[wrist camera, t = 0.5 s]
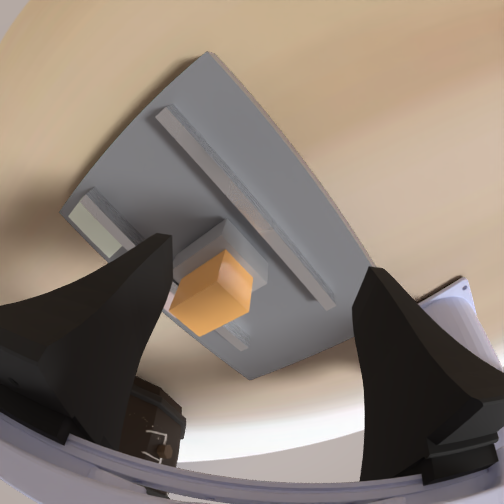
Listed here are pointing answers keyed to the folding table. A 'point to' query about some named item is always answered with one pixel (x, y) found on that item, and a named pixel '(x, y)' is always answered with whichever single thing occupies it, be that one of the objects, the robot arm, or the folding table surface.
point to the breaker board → (229, 214)
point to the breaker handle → (216, 279)
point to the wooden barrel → (152, 427)
